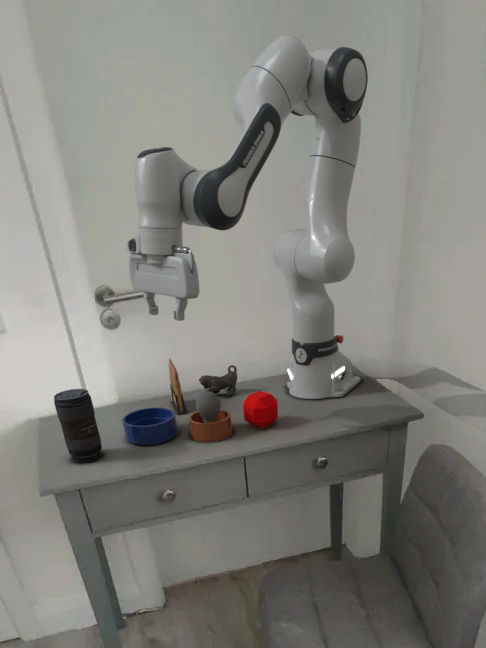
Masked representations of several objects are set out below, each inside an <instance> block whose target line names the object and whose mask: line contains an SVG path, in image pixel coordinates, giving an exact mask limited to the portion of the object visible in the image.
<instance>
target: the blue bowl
mask: <svg viewBox="0 0 486 648" xmlns="http://www.w3.org/2000/svg"><path fill="white" fill-rule="evenodd" d="M121 422H122V426H123V431H124V437H125V439H126V441H127V442H129V443H130V444H134V445H139V446H151V445H152V446H153V445H158V444H162V443H165V442H167V441H170V440H172V439H173V438H175V437H176V436H177V435H178V433H179V430H178V424H177V417H176V413H175V411H174V410H173V409H171V408H167V407H160V406H159V407H158V406H157V407H154V406H153V407H145V408H139V409H136V410H133V411H131V412H128V413H127V414H126V415H124V416H123V417H122V418H121Z"/></svg>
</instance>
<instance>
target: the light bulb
mask: <svg viewBox="0 0 486 648" xmlns="http://www.w3.org/2000/svg"><path fill="white" fill-rule="evenodd" d="M205 391H206V392H205ZM205 391H203V392H201V393H200V394H199V395H198V396H197V398H196V400H195V408H196V412H197V411H198V412H199V414H200V415H201V416H202V418H203V421H204V423H212V422H216V421H217V415H218V413H219V410H220V409H221V407H222V405H221V399H220V397H219V396H218V395H217V394H215V393H213V392H209V391H207V390H205Z"/></svg>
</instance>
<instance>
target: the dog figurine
mask: <svg viewBox="0 0 486 648" xmlns="http://www.w3.org/2000/svg"><path fill="white" fill-rule="evenodd" d="M231 368H233V371H232V370H231ZM198 382H199V384H200V385H201V386H203V389H204V390H205V391H204V392H206V391H209V392H213V393H215V394H216V395H217V394H220V392H221V391H222V390H226V391H228V392H226V394H225V396H226V397H230V396H232V395H233V394H235V392H237V386H236V384H237V382H238V369H237V366H235V365H229V366H228V367H227V373H225V374H224V375H222V376H217V375H207V374H206V375H201V377H200V378H199V379H198Z"/></svg>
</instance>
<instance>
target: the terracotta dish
mask: <svg viewBox="0 0 486 648" xmlns="http://www.w3.org/2000/svg"><path fill="white" fill-rule="evenodd" d="M188 425H189V432H190V436H191V438H192V439H193V440H194V441H197V442H202V443H213V442H218V441H222V440H226V439H227V438H229V437H231V435H232V434H233V422H232V414H231V412H230V411H228V410H226V409H223V408H220V410H219V413H218V415H217V421H216V422H212V423H204V421H203V418H202V416H201V415H200V414H199V412H198V411H197V410H196V411H194V412H192V413H191V414H189V416H188Z"/></svg>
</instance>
